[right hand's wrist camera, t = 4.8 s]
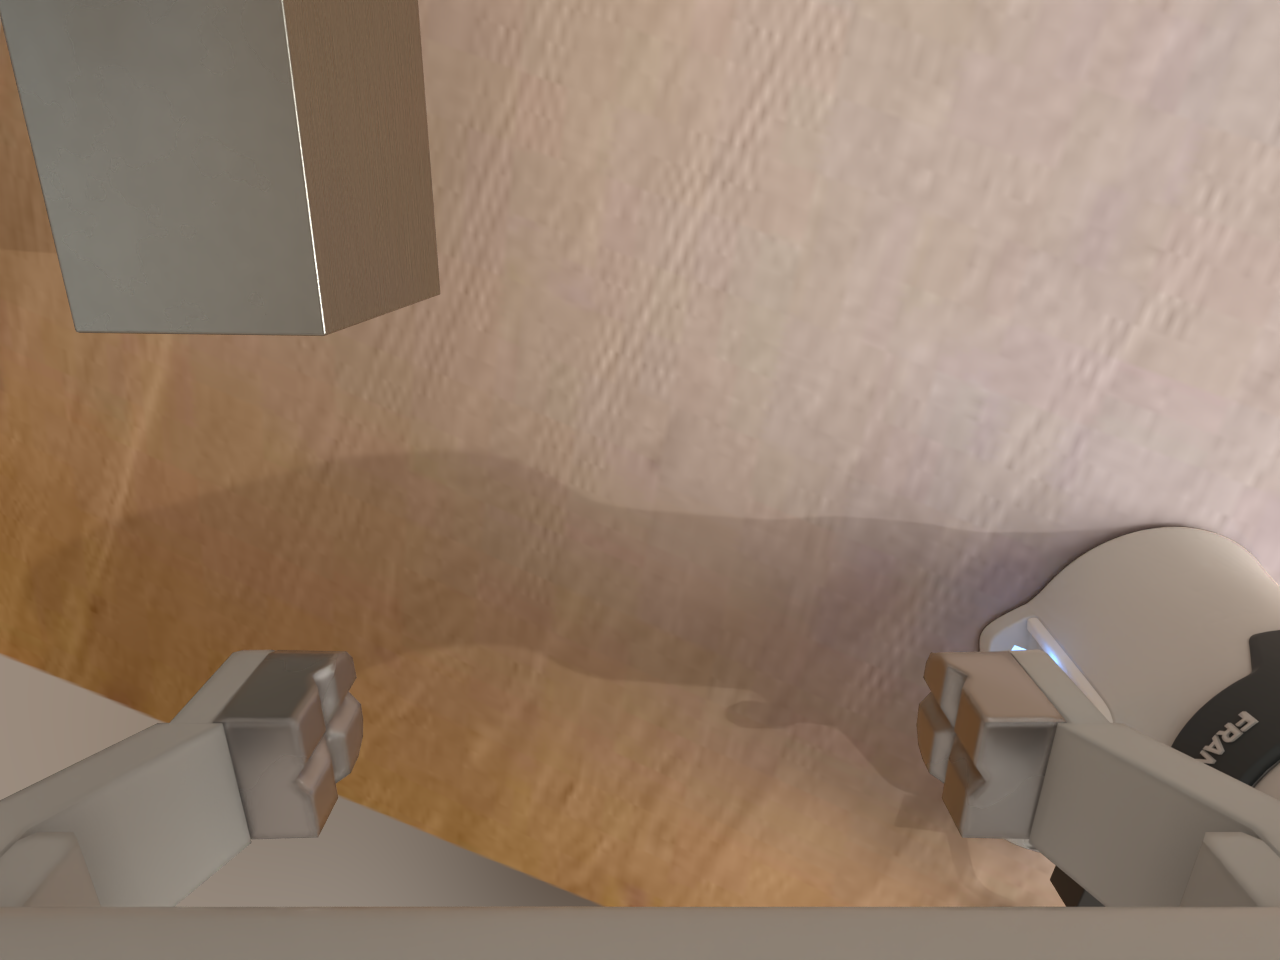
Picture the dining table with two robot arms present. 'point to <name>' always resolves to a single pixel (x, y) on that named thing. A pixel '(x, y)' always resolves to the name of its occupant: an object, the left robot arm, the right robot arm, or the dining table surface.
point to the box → (230, 160)
